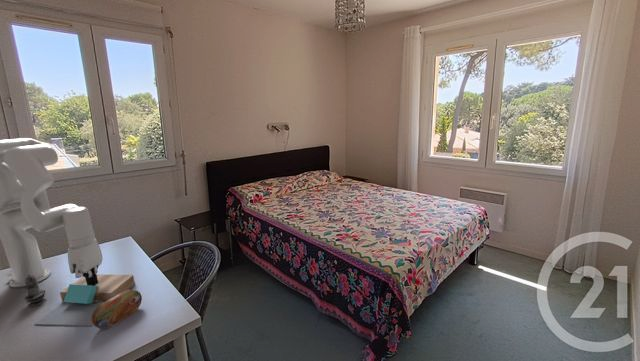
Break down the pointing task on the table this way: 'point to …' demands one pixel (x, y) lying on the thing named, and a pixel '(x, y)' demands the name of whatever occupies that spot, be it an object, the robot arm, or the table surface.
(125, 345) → the table surface
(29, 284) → the grey chess piece
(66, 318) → the mat
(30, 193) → the robot arm
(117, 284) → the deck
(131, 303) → the tin
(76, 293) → the turquoise foam pad
